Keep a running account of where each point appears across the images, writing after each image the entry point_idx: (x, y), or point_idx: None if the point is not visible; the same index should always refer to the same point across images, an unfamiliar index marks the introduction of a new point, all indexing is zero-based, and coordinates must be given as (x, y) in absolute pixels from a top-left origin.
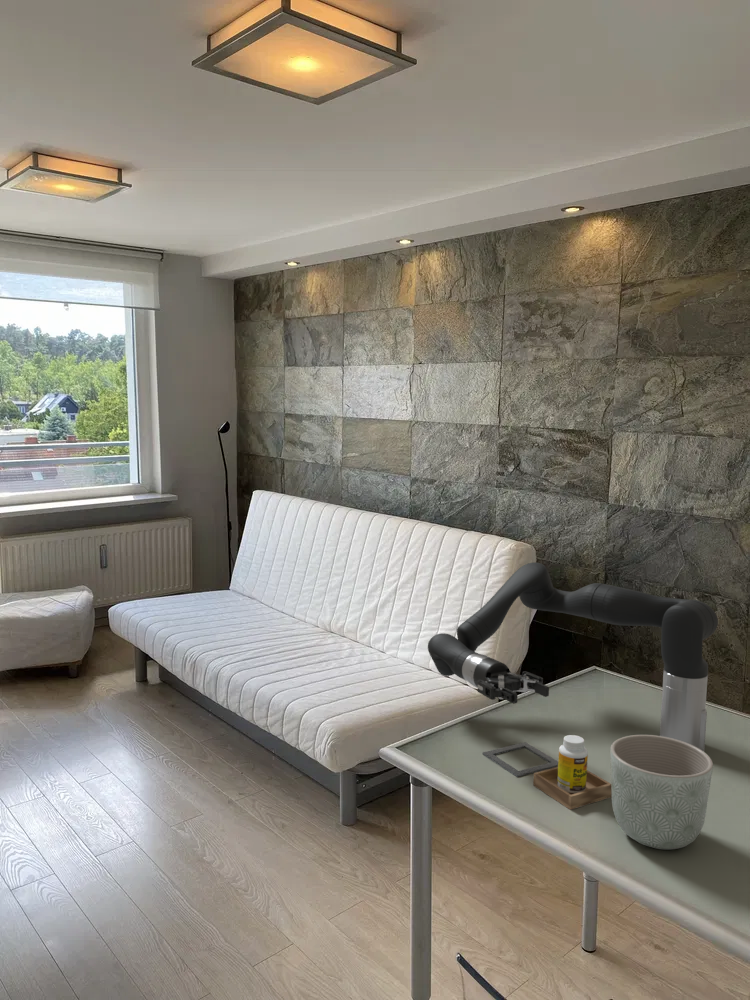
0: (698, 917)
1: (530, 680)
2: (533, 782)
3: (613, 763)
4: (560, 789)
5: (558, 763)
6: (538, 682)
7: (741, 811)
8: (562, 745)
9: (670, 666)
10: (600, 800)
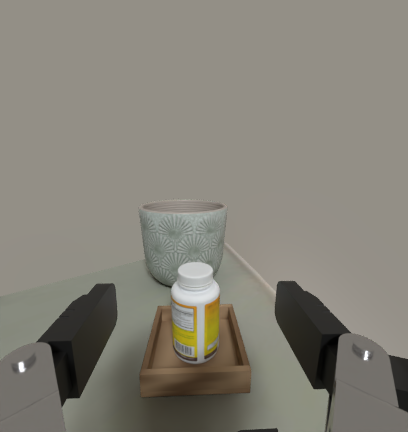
0: (228, 246)
1: (54, 376)
2: (249, 387)
3: (224, 216)
4: (234, 318)
5: (216, 319)
6: (58, 331)
7: (83, 275)
8: (206, 293)
9: None
10: None
